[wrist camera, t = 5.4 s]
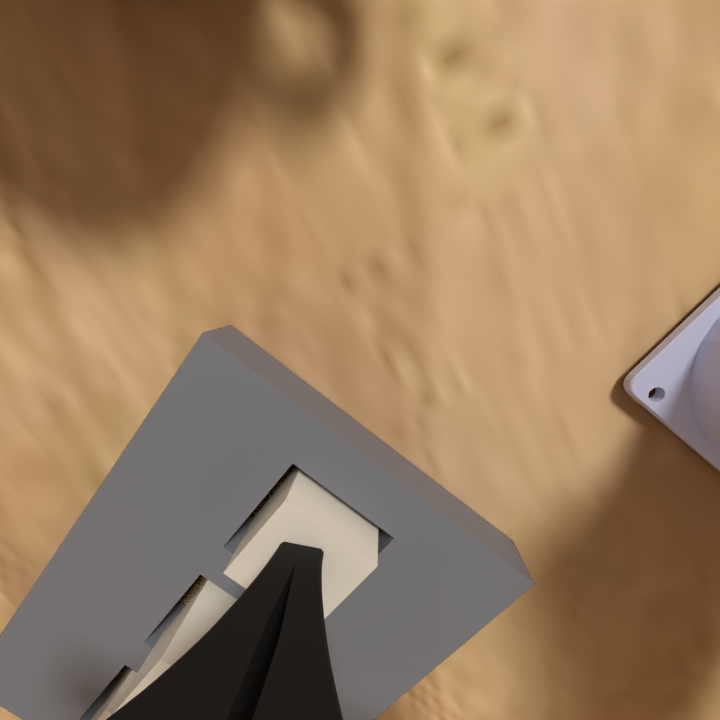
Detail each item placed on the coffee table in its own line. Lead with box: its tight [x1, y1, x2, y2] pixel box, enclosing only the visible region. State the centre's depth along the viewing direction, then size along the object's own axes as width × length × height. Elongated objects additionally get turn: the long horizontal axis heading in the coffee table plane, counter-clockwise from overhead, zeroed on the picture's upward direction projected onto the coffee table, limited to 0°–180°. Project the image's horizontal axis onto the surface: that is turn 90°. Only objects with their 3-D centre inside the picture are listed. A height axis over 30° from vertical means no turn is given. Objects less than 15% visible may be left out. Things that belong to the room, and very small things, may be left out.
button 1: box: [91, 667, 137, 720], centre depth 15 cm, size 4×4×3 cm
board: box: [0, 325, 535, 720], centre depth 14 cm, size 14×20×2 cm
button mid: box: [110, 580, 237, 716], centre depth 12 cm, size 4×4×3 cm
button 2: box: [223, 466, 378, 619], centre depth 12 cm, size 4×4×3 cm
